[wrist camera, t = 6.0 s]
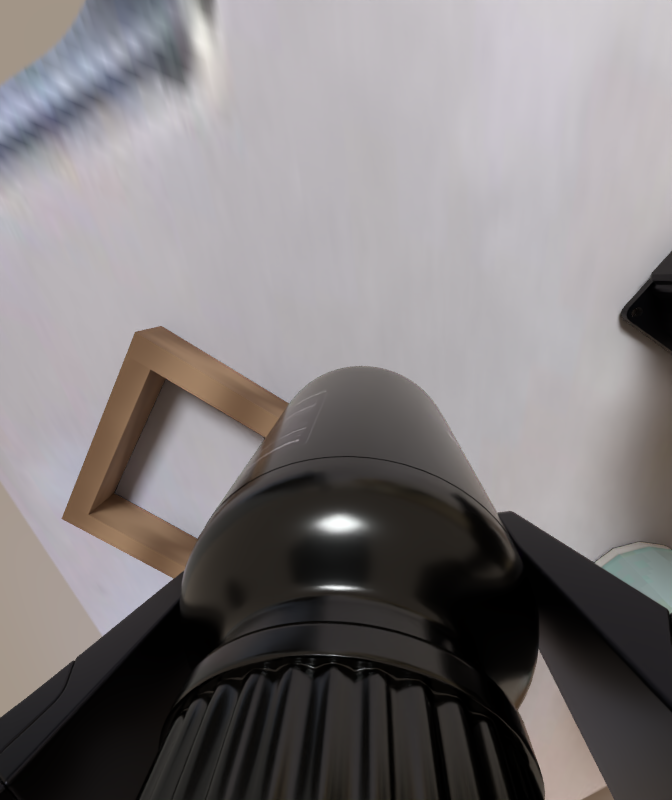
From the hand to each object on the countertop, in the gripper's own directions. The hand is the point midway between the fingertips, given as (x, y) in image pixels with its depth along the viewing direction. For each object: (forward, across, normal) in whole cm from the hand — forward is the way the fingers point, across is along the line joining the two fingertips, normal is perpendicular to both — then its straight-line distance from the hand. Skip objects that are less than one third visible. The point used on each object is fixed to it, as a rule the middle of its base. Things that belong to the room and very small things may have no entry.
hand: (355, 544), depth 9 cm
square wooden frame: (+13, +11, +4) cm, 18 cm away
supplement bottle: (+6, 0, 0) cm, 6 cm away
